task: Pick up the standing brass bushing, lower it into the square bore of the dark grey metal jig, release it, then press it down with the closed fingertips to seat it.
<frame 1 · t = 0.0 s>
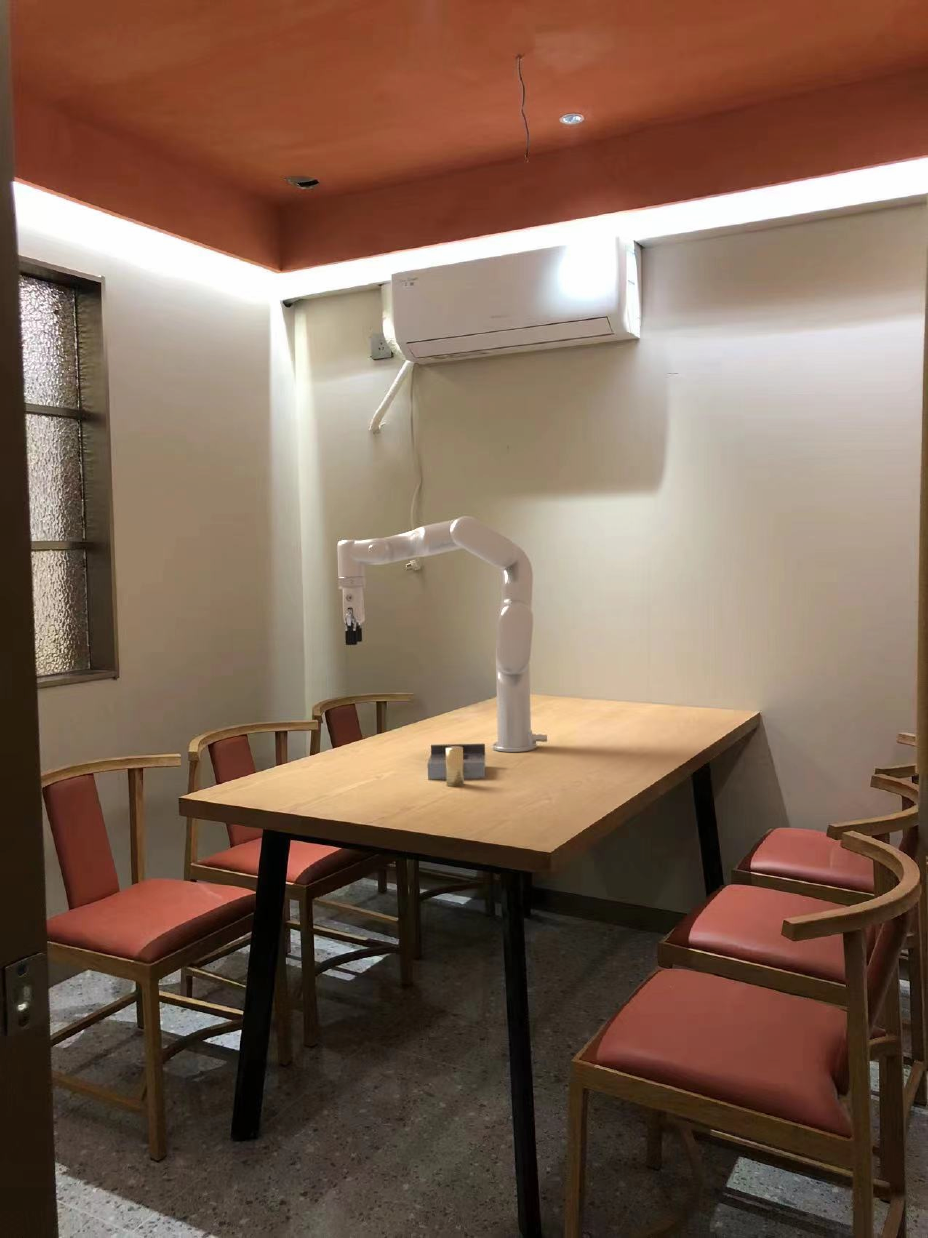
hand: (354, 643, 278), 31 cm above the table, fingers open, 9 cm apart
jig: (457, 772, 248), on the table
bushing: (455, 784, 235), on the table
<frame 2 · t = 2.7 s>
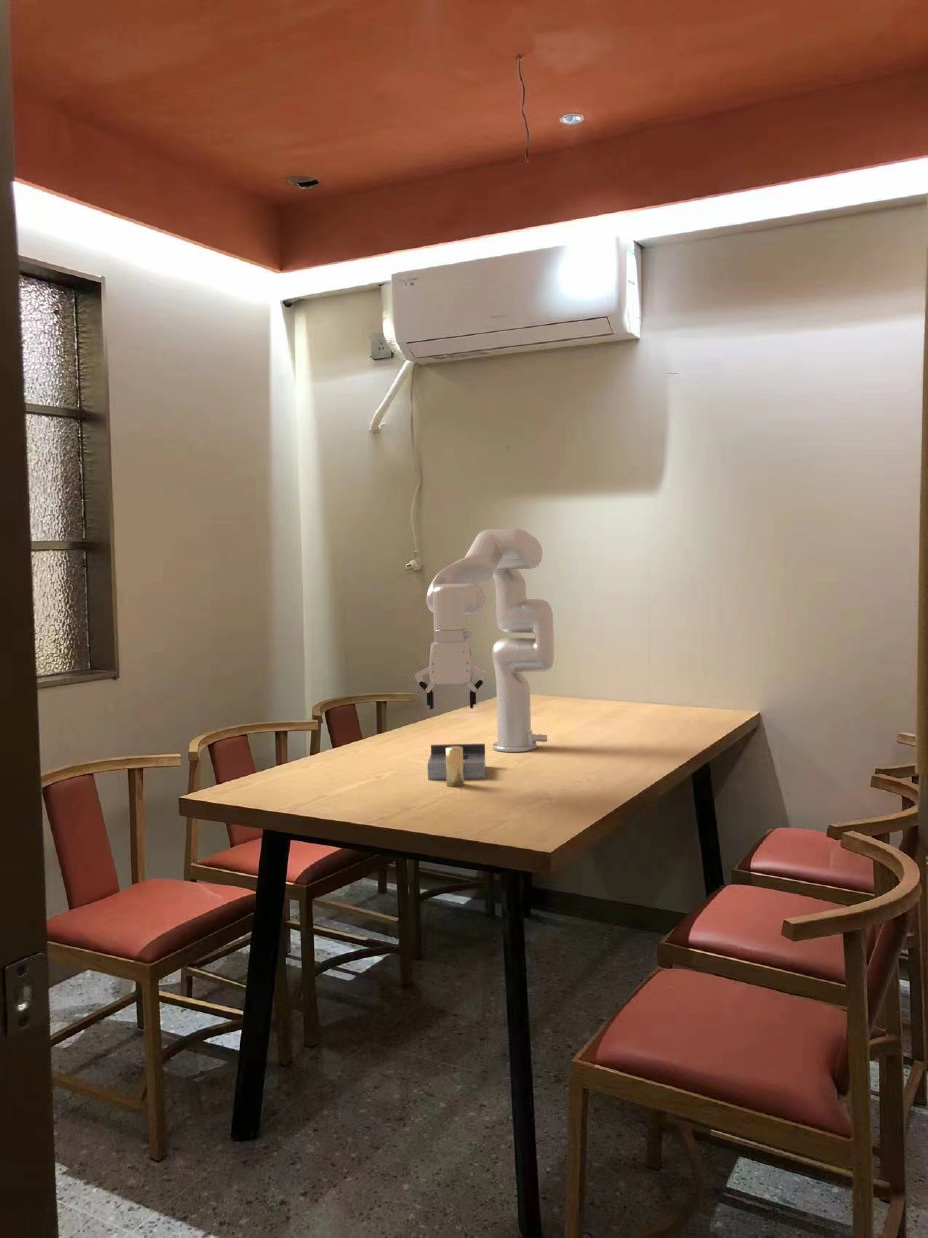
hand: (451, 708, 234), 19 cm above the table, fingers open, 9 cm apart
nothing on the table moved.
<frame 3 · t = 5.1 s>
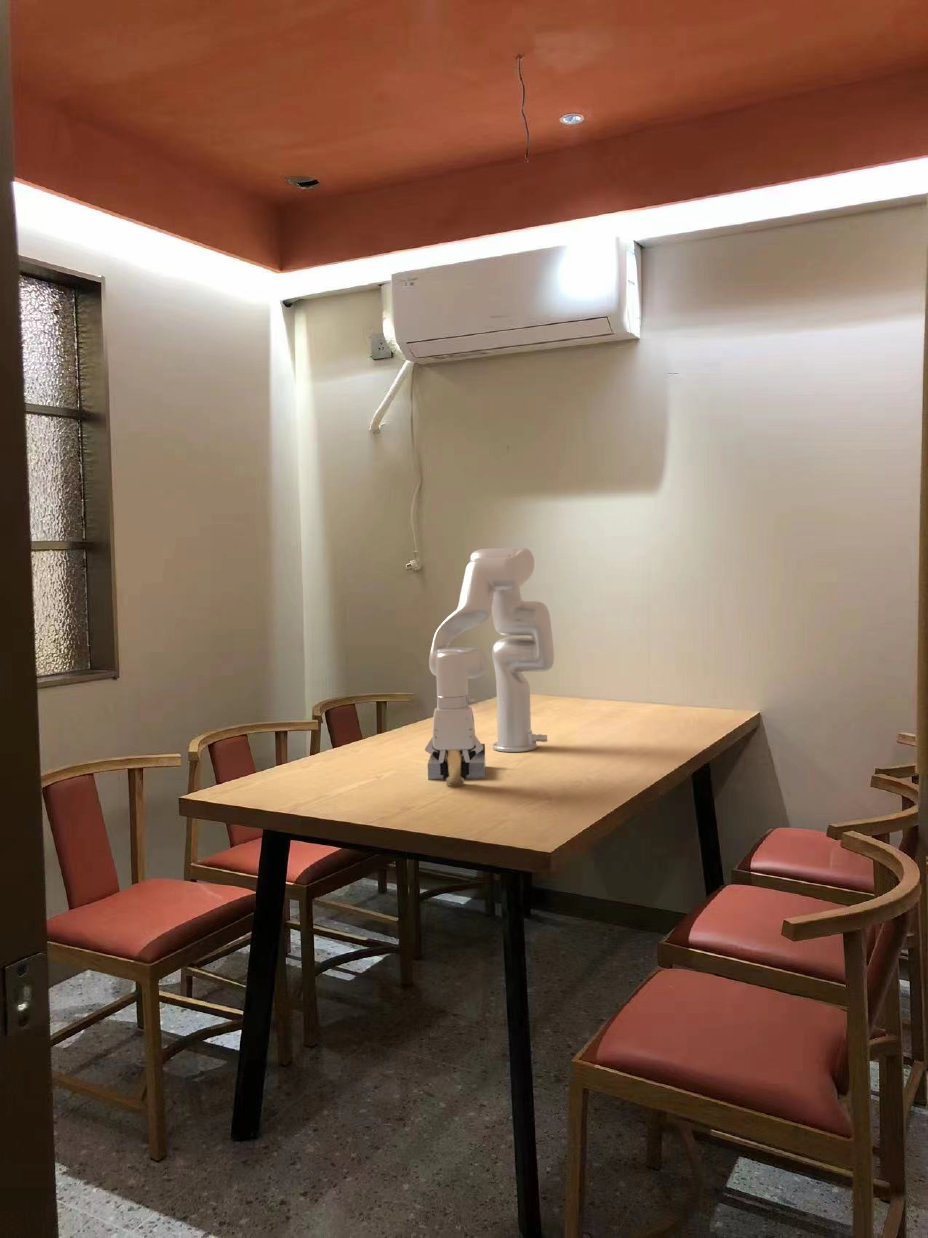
hand: (454, 777, 235), 2 cm above the table, fingers closed on bushing, 4 cm apart
bushing: (455, 784, 235), on the table, touching gripper
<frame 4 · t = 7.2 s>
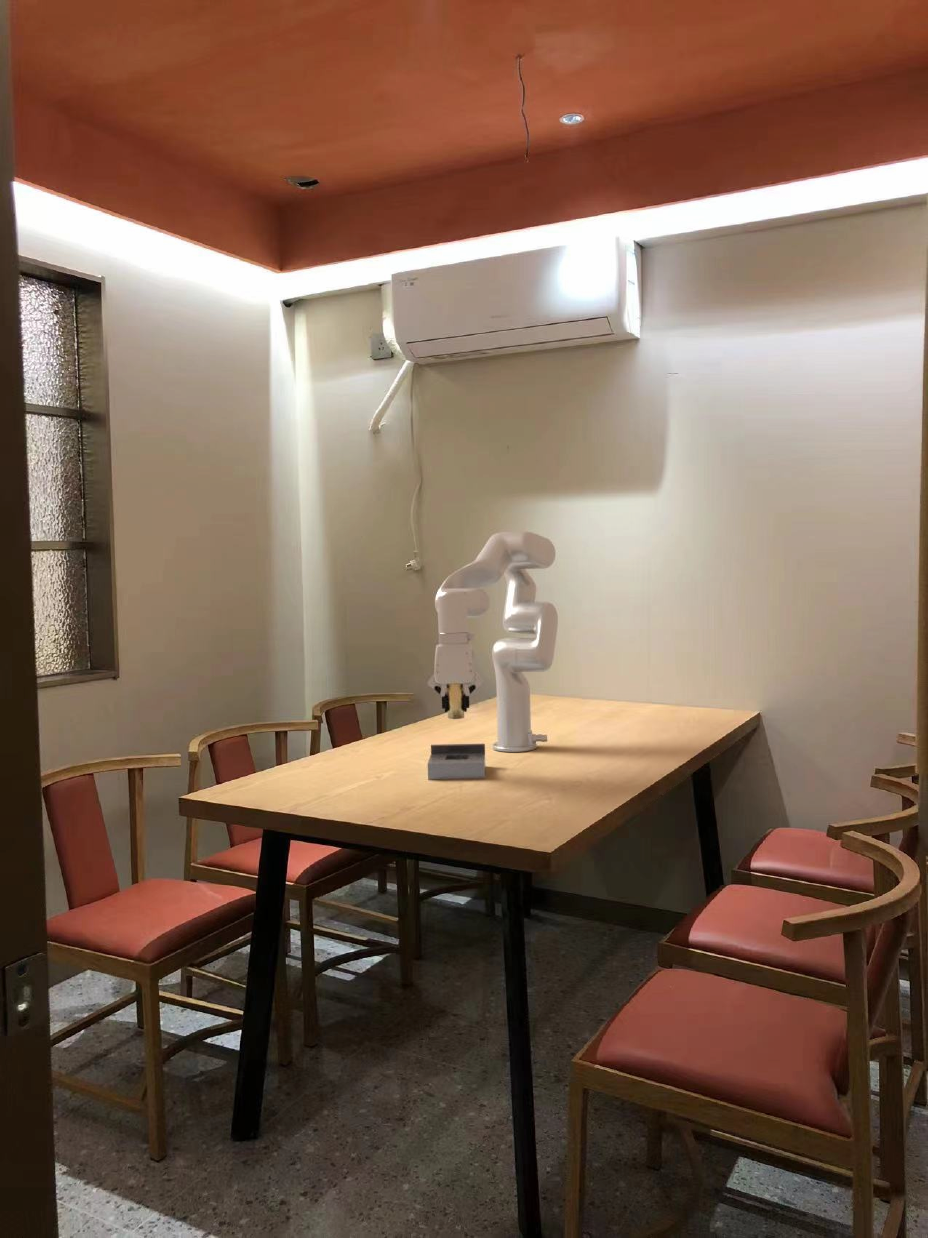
hand: (455, 710, 247), 16 cm above the table, fingers closed on bushing, 4 cm apart
bushing: (456, 717, 247), point 14 cm above the table, touching gripper
when the fingers open (5 cm above the table, at t = 9.5 s): bushing drops 3 cm, resting in jig.
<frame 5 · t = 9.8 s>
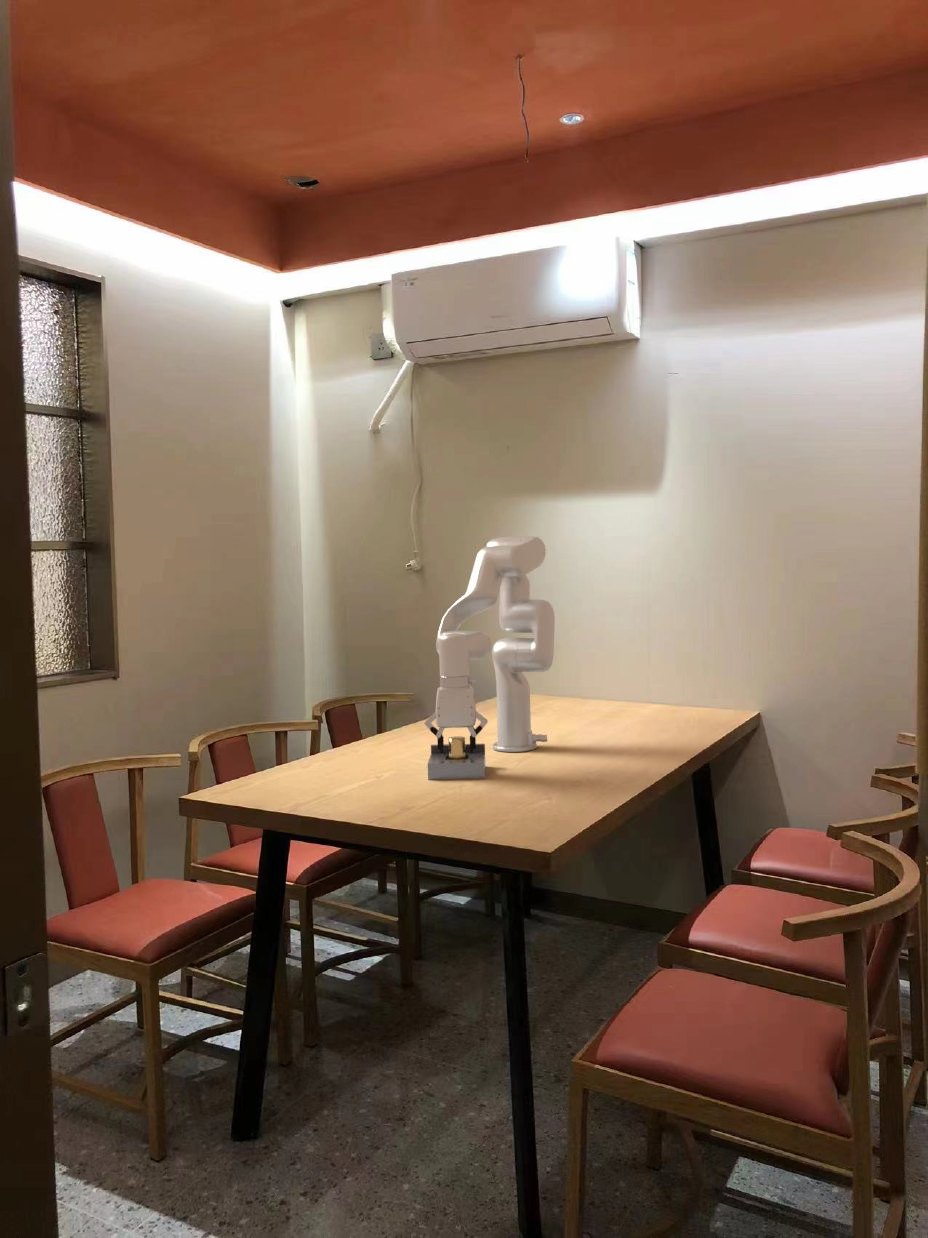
hand: (456, 751, 247), 5 cm above the table, fingers open, 7 cm apart
bushing: (457, 772, 248), resting in jig
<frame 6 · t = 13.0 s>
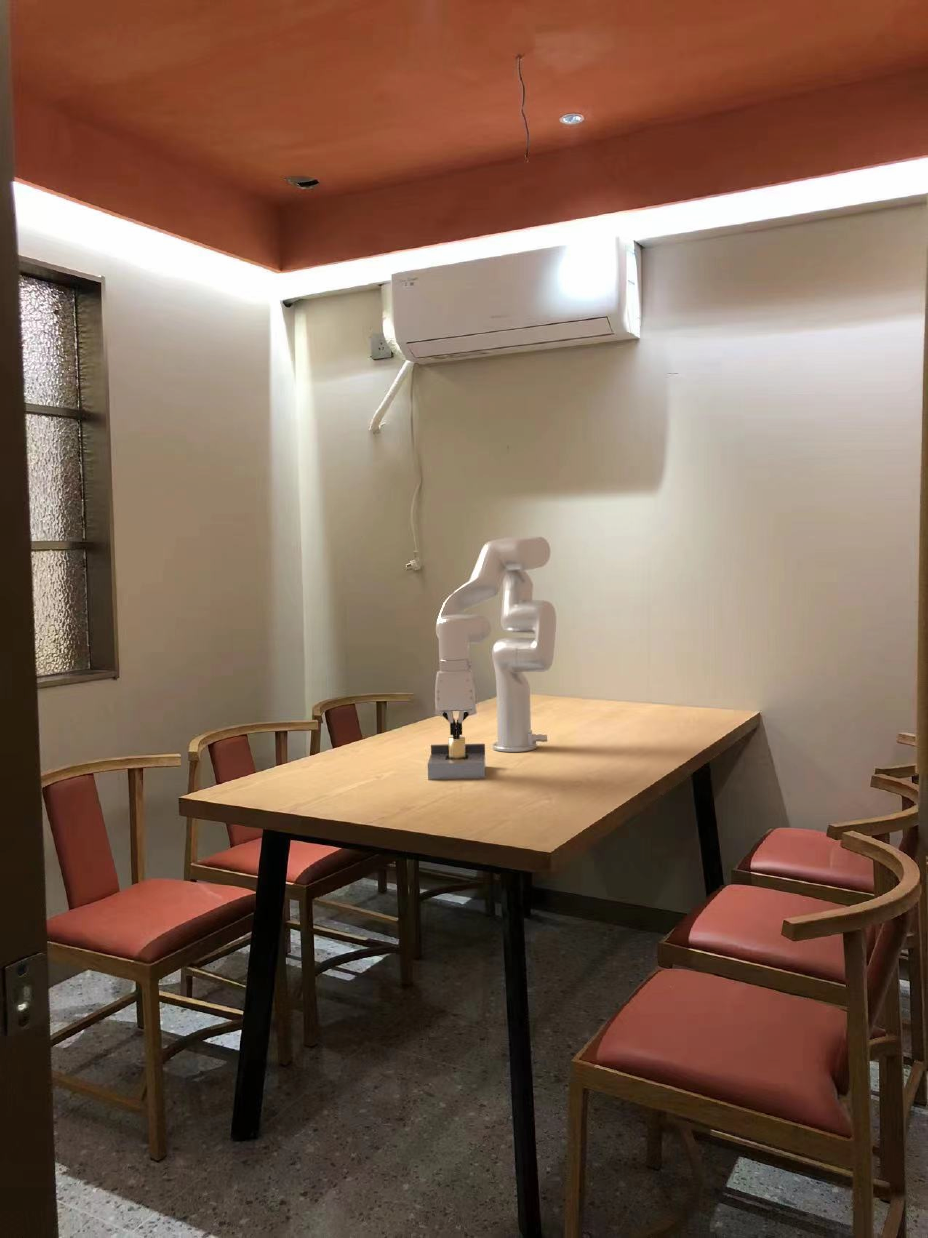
hand: (456, 737, 247), 9 cm above the table, fingers closed
bushing: (457, 772, 248), resting in jig, touching gripper
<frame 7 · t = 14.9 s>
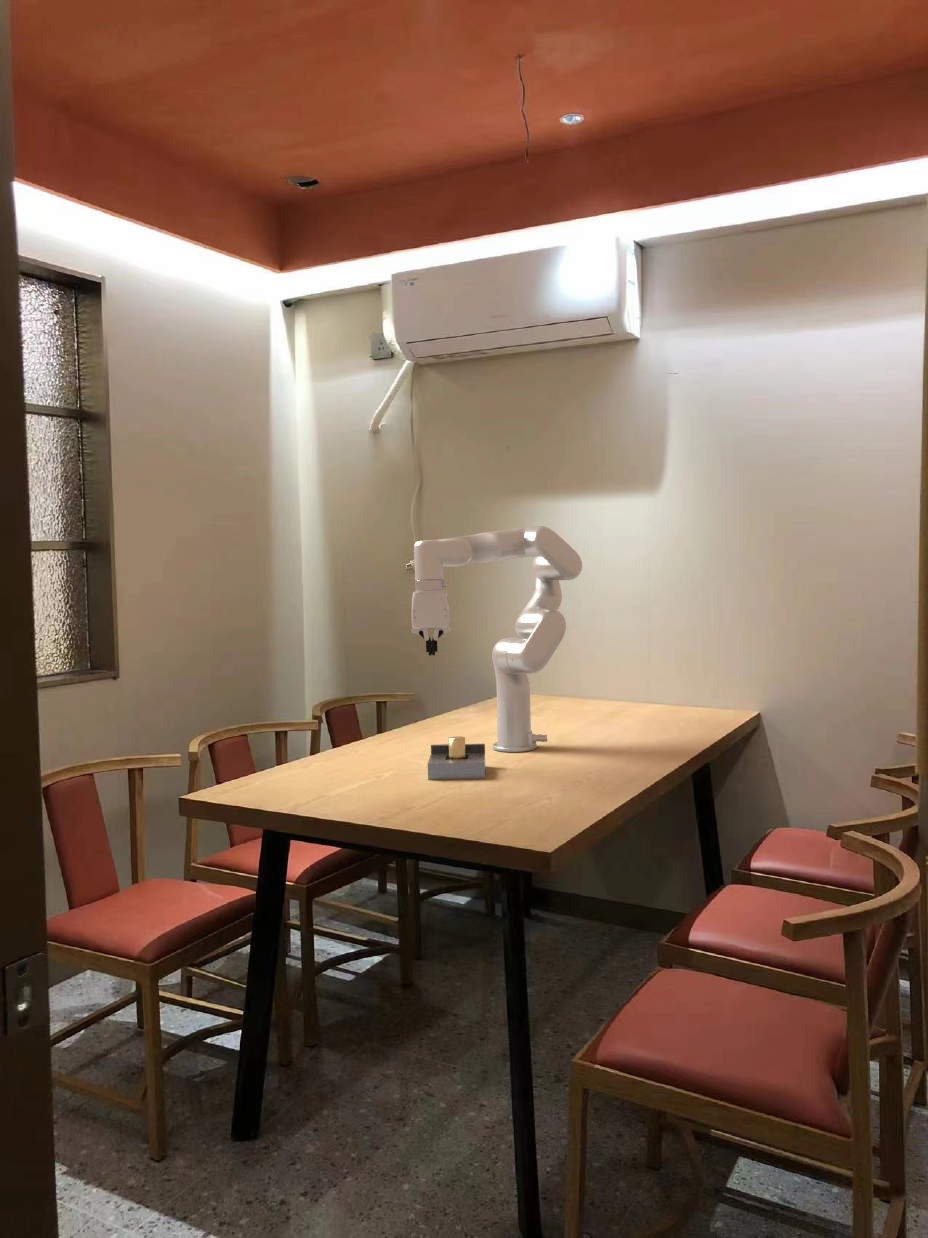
hand: (432, 654, 261), 29 cm above the table, fingers closed
bushing: (457, 772, 248), resting in jig
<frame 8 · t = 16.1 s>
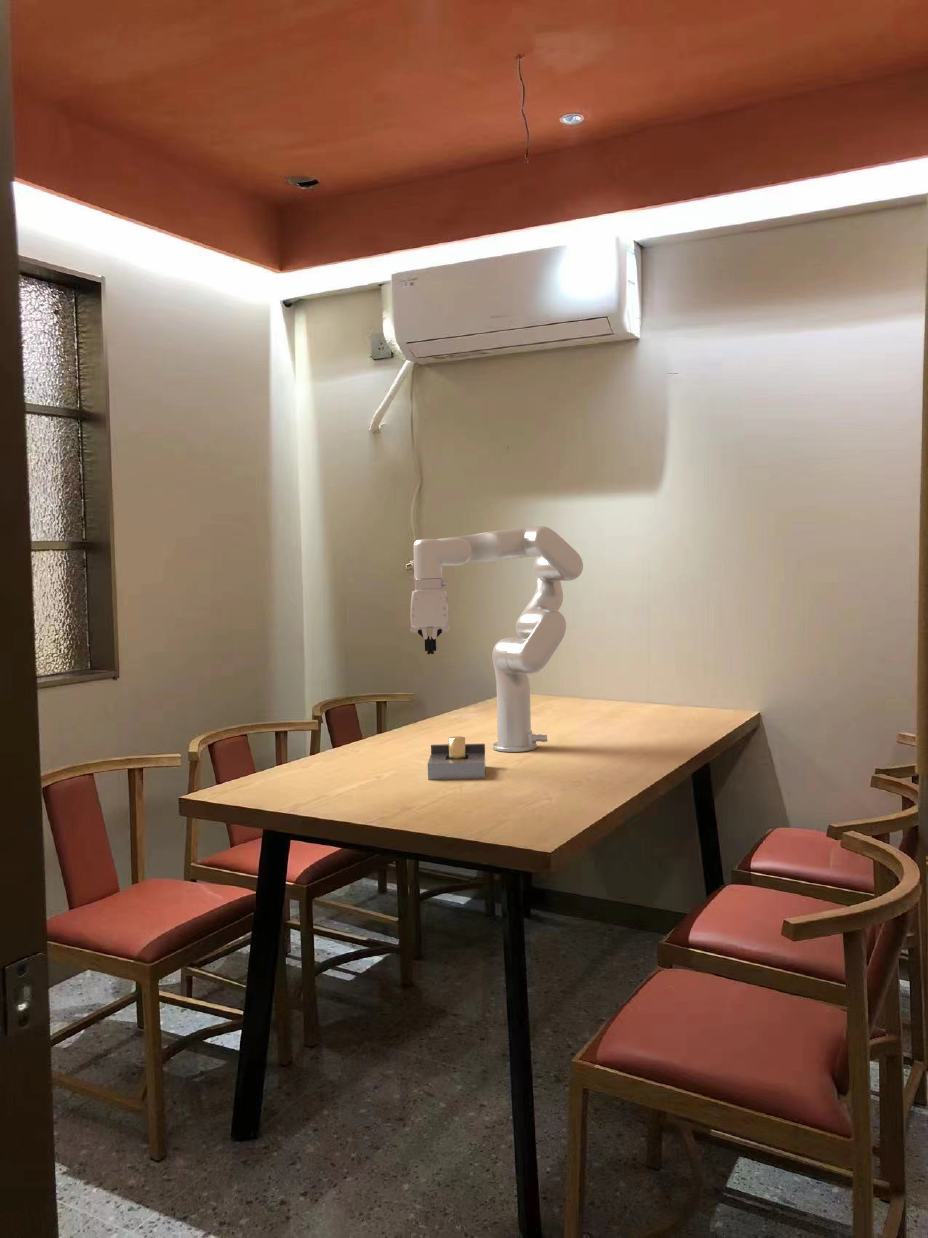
hand: (430, 653, 261), 29 cm above the table, fingers closed
nothing on the table moved.
at the end: bushing 0.0 cm off-centre on the jig, point 0.0 cm above the jig's base; bushing tilted 0°; the gripper is holding nothing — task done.
